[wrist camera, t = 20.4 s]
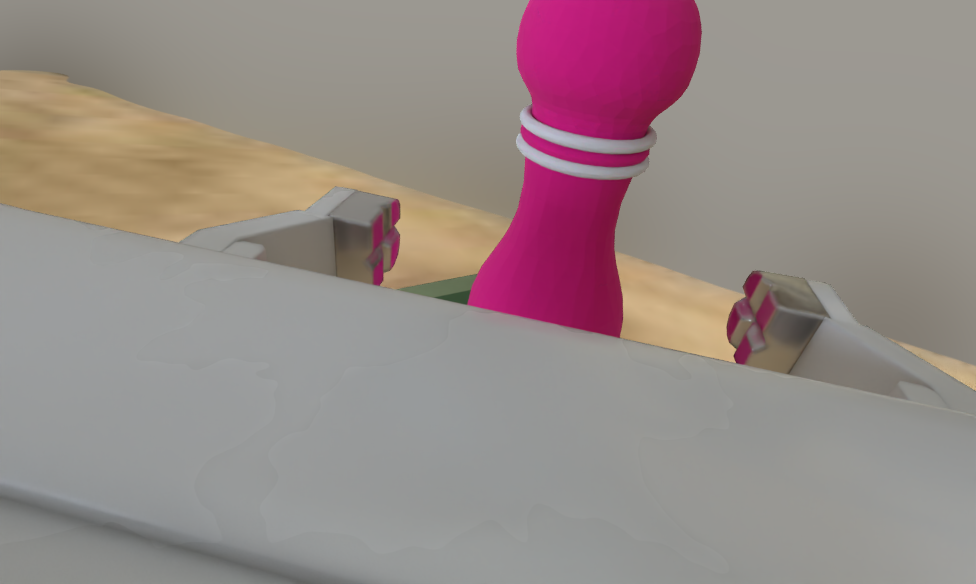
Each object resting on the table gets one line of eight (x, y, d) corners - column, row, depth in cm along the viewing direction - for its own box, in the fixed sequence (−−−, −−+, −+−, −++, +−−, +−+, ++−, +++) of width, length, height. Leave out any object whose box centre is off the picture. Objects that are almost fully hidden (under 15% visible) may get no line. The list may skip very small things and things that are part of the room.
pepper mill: (594, 457, 22) (813, -108, 11) (440, 418, 23) (496, -148, 12) (598, 354, 28) (742, -81, 17) (475, 326, 29) (535, -109, 18)
